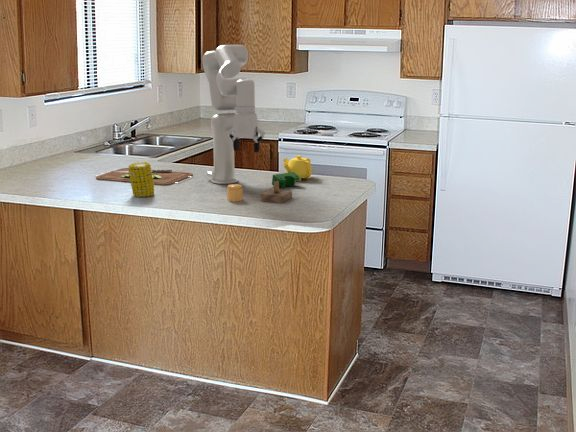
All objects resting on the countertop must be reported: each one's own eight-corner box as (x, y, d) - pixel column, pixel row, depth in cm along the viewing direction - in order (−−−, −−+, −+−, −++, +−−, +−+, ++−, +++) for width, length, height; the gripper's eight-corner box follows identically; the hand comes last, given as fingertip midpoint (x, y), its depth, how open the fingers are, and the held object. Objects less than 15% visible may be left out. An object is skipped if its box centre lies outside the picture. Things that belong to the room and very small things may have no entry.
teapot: (283, 175, 365) (283, 152, 362) (311, 175, 365) (311, 153, 362) (283, 182, 351) (282, 158, 348) (312, 182, 351) (312, 158, 348)
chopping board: (88, 180, 357) (88, 173, 357) (120, 169, 382) (119, 163, 381) (172, 187, 342) (172, 180, 341) (199, 176, 366) (199, 170, 365)
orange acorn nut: (225, 200, 316) (225, 186, 314) (231, 197, 321) (231, 183, 319) (238, 201, 313) (238, 187, 312) (244, 198, 319) (244, 184, 317)
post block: (260, 200, 315) (260, 183, 313) (270, 195, 324) (270, 178, 322) (283, 203, 312) (283, 185, 310) (291, 197, 321) (291, 180, 319)
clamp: (281, 197, 340) (276, 182, 334) (274, 192, 344) (269, 176, 338) (302, 185, 343) (298, 169, 338) (295, 180, 348) (291, 164, 342)
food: (156, 200, 323) (132, 202, 320) (153, 188, 333) (129, 191, 330) (153, 167, 315) (129, 170, 313) (150, 156, 325) (126, 159, 323)
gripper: (222, 110, 311) (223, 151, 315) (259, 111, 303) (260, 154, 307) (232, 108, 317) (233, 148, 321) (268, 110, 310) (268, 151, 314)
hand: (246, 151), depth 314 cm, fingers open, 9 cm apart
